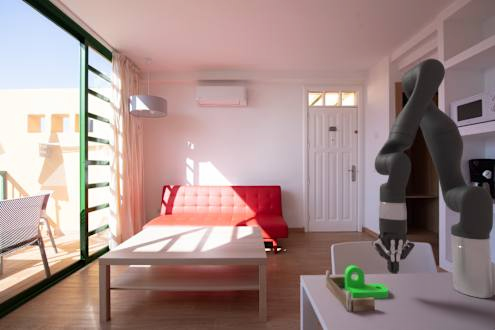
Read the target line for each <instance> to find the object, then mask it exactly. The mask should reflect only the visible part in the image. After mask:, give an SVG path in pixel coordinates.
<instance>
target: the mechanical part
mask: <svg viewBox="0 0 495 330" xmlns="http://www.w3.org/2000/svg"><path fill="white" fill-rule="evenodd" d="M354 273H356V277H355V278H352V275H353V274H354ZM344 276H345V287H344V290H345V292H346V291H350V292H351V298H371V297H372V298H374V299H386V298H388V297H389V288H388V287H387V286H385V285H384V284H383V283H381V282H380V283H365V273H364V271H363V270H362V268H360V267H358V266H357V265H354V264H351V265H348V266H347V267H346V268H345V270H344Z"/></svg>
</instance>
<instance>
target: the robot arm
mask: <svg viewBox="0 0 495 330" xmlns="http://www.w3.org/2000/svg"><path fill="white" fill-rule="evenodd" d="M445 74H446V69H445V65H444V64H443V63H442V62H441V61H440V60H438V59H436V58H428V59H425V60H423V61H421V62H419V63H418V64H416V65H414V66H413V67H411V68H410V69H408V70H406V72H404V73H403V75H402V77H401V86H402V89H403V91H404V94H405V96H406V97H407V98H406V99H407V102H406V104H405V105H404V107H402V110H400V112H399V114H398V115H397V117H396V118H395V120H394V122H393V125H392V127H391V129H390V133H389V135H388V138H387V140H386V142H385V143H384V144H383V145H382V147H381V149H380V150H379V151H378V153H377V155H376V157H375V159H374V169H375V171H376V172H377V173H378V174H379V175H381V176H388V179H387V181H386V182H385V183H381V184H380V185H379V206H378V231H379V234H378V239H377V240H375V241H371V246H373V248H374V249H375V250H376V251H377V253H378V254H379V256H380V257H381V258H383V259H384V260H387V261H386V264H387V271H388V272H389V273H390V274H395V275H397V274H398V273H399V271H400V261H403V260H406V259H407V258H408V256H409V255H410V253H411V251H413V249H414V247H415V243H414V242H411V241H410V240H408V237H407V232H408V225H407V224H408V222H407V219H408V218H407V215H408V214H407V206H406V205H407V204H406V188H407V186H408V182H409V179H410V174H411V170H412V162H411V159H410V158H409V156H408V154H406V153H404V151H407V150H408V149H410V148H412V146H413V144H414V141H415V139H416V136H417V132H418V129H419V127H420V130H421V132H422V135H423V138H424V141H425V143H426V147H427V149H428V152H429V154H430V156H431V159H432V163H433V165H434V168H435V171H436V173H437V177H438V180H439V181H438V182H439V185H440V189H441V195H442V198H443V201H444V204H445V205H446V207H447V208H448V209H449V210H451V211H452V212H455V213H459V221H458V222H457V223H454V224H452V225H451V227H450V236H451V238H450V239H451V241H450V242H451V255H452V256H451V258H452V259H451V260H452V261H451V263H452V279H453V280H452V281H453V283H452V284H453V288H454V290H456V291H457V292H459V293H461V294H464V295H468V296H471V297H475V298H481V299H491V298H493V296H495V263H494V262H493V261H492V255H491V252H492V251H491V236H490V235H491V231H492V230H493V226H494V201H493V197H492V195H491V193H490V192H489V190H488V189H486V188H484V187H482V186H478V185H469V184H468V185H467V183H466V180H465V177H464V175H463V173H462V167H461V165H462V157H463V154H464V141H463V137H462V135H461V132H460V130H459V127H458V125H457V123H456V122H455V121H454V120H453V119H452V118H451V117H450V116H449V115H447V114H446V113H445V112H443V111H442V109H440V108H439V107H438V106H437V105H436V103H435V102H434V100H433V98H434V96H435V95H436V93H437V91H438V89H439V88H440V86H441V85H442V83H443V81H444V78H445Z"/></svg>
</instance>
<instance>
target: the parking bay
mask: <svg viewBox="0 0 495 330" xmlns="http://www.w3.org/2000/svg"><path fill="white" fill-rule="evenodd" d="M330 273H331V272H330V270H325V286H326V288H327V289H328V290H329V291H330V292H331V293H332V295H334V297H335V298H336V299H337V301H338V302H339V303H340V304H341V305H342V306H343V308H344V309H345V310H346V311H347V313H348V312H349V313H350V312H352V311H353V312H363V311H364V312H368V311H369V312H370V311H372V312H373V311H375V310H376V309H375V307H376V306H375V305H376V304H375V298H372V297H371V298H352V297H351V292H350V291H346V290H345V292H344V290H342V289H341V288H343V287H344V288H345V275H342V276H341V275H340V276H330V275H331V274H330Z"/></svg>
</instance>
